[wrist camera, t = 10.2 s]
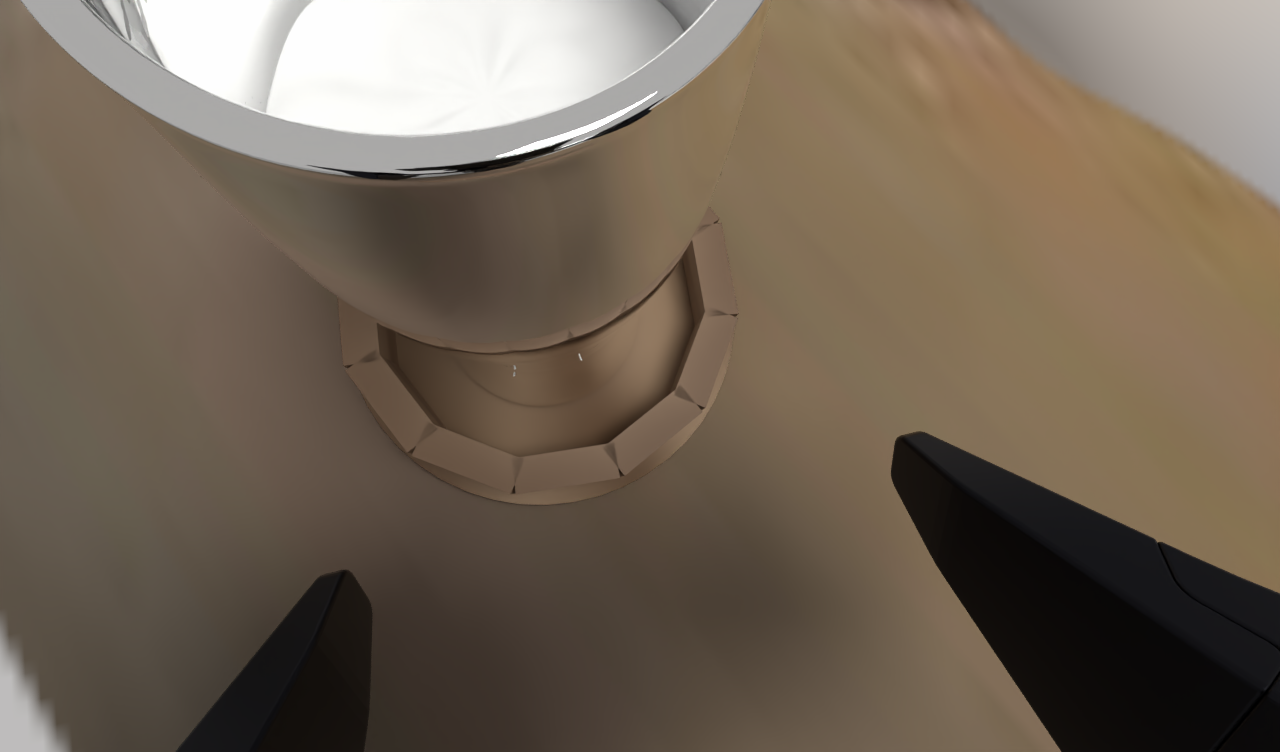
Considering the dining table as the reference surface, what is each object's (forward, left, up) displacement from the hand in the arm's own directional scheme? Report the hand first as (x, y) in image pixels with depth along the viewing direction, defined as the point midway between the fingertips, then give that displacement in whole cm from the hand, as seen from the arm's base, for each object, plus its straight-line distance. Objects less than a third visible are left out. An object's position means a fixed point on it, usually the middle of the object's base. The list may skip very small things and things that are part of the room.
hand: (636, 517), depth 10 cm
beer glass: (+2, +6, -9) cm, 11 cm away
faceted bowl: (+2, +6, -10) cm, 12 cm away
